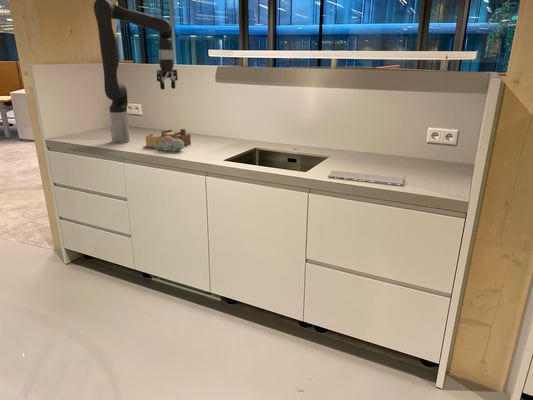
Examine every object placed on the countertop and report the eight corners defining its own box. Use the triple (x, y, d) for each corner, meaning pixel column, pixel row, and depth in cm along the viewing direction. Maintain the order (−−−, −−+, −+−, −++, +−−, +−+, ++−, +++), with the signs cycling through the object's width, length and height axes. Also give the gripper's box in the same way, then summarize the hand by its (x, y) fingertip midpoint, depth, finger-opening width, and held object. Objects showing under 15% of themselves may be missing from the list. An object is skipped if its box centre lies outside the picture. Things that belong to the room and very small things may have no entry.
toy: (158, 161, 216) (180, 150, 210) (148, 143, 214) (171, 132, 208) (168, 156, 227) (190, 145, 221) (160, 139, 225) (181, 128, 219)
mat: (143, 147, 225) (142, 146, 225) (153, 144, 231) (153, 144, 231) (156, 149, 220) (156, 148, 220) (166, 146, 227) (166, 146, 227)
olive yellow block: (146, 146, 225) (145, 134, 223) (152, 144, 229) (151, 133, 227) (157, 148, 222) (156, 136, 220) (163, 146, 226) (162, 134, 223)
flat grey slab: (332, 172, 186) (327, 179, 175) (333, 165, 185) (328, 172, 174) (404, 179, 176) (402, 187, 165) (404, 172, 175) (403, 180, 164)
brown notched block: (162, 143, 235) (160, 127, 232) (171, 141, 241) (170, 126, 238) (182, 146, 228) (181, 130, 225) (190, 144, 234) (190, 128, 231)
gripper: (169, 58, 233) (171, 87, 238) (151, 58, 221) (154, 89, 227) (180, 58, 229) (181, 88, 235) (162, 58, 218) (164, 90, 223)
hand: (168, 89), depth 231 cm, fingers open, 8 cm apart
